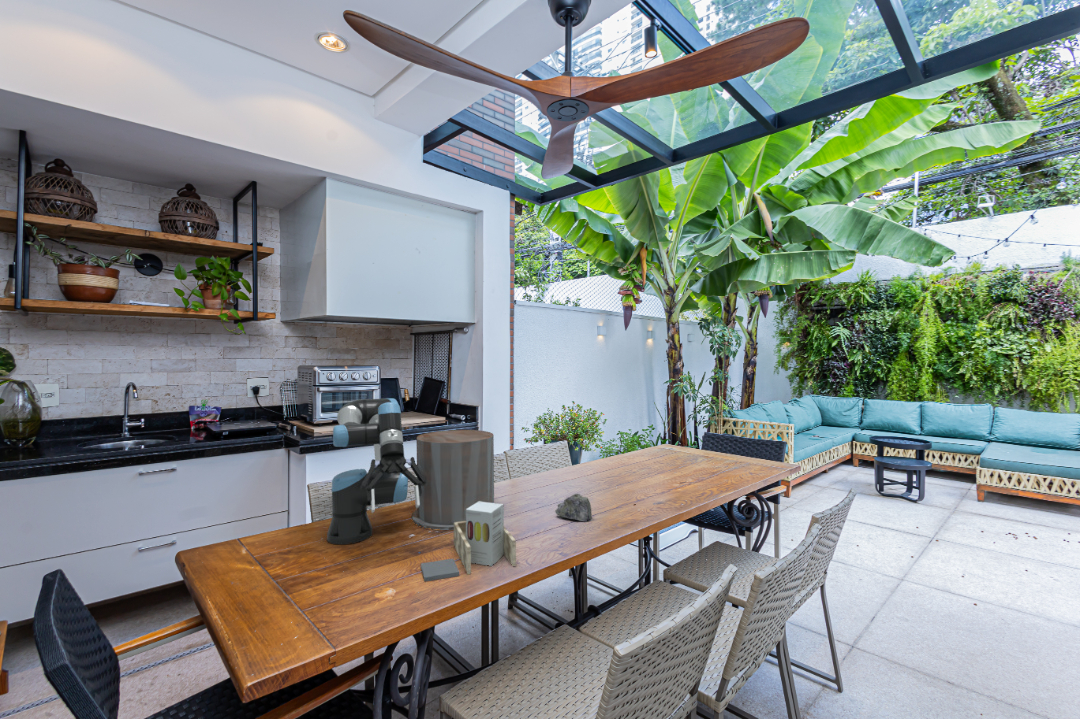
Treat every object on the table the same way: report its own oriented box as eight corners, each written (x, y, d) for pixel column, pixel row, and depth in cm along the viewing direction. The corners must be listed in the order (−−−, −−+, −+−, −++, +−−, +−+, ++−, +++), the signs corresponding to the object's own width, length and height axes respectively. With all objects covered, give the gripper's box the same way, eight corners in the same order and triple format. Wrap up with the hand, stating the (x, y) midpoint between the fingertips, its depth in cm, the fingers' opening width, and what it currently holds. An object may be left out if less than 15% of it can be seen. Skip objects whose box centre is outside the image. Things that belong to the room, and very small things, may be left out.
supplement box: (464, 562, 152) (464, 509, 152) (478, 551, 161) (477, 500, 160) (492, 566, 149) (491, 512, 148) (504, 554, 157) (504, 503, 157)
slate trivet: (420, 567, 149) (420, 563, 149) (453, 562, 152) (453, 558, 152) (424, 581, 139) (424, 577, 139) (459, 575, 143) (459, 571, 143)
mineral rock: (553, 516, 193) (553, 491, 193) (573, 511, 200) (573, 487, 200) (575, 525, 183) (575, 499, 183) (595, 519, 190) (595, 494, 190)
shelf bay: (453, 545, 165) (453, 522, 165) (496, 539, 170) (496, 516, 170) (467, 574, 144) (467, 547, 144) (516, 566, 149) (515, 540, 149)
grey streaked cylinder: (427, 537, 173) (426, 447, 172) (401, 510, 203) (400, 433, 202) (514, 519, 190) (513, 437, 190) (479, 497, 221) (478, 426, 220)
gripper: (352, 443, 154) (354, 509, 144) (431, 439, 165) (438, 500, 154) (351, 452, 160) (352, 516, 149) (426, 448, 171) (433, 508, 160)
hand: (395, 508), depth 152 cm, fingers open, 13 cm apart
